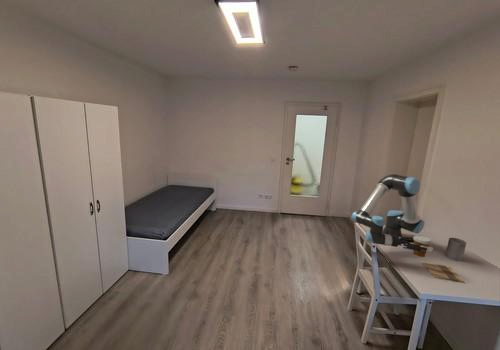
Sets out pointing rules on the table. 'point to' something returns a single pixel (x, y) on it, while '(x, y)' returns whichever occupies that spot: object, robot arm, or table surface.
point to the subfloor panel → (442, 272)
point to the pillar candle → (455, 249)
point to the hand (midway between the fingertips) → (429, 246)
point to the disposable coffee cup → (421, 244)
